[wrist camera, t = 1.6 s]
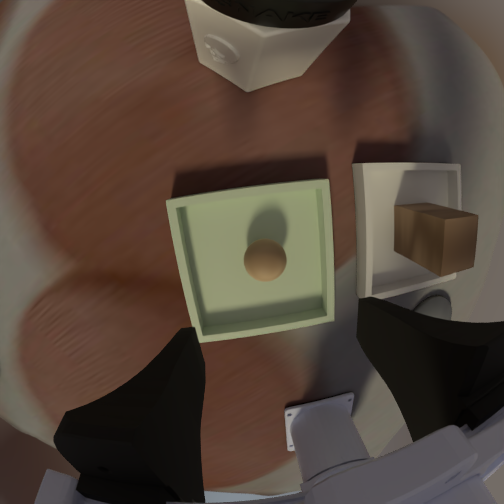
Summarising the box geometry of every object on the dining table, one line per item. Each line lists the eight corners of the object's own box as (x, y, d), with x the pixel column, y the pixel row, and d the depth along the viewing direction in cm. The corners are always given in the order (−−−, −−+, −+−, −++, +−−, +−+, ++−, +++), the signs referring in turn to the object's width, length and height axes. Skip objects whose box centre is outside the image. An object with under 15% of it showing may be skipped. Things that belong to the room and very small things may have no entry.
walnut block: (426, 244, 22) (473, 266, 16) (393, 250, 22) (440, 277, 16) (427, 202, 21) (478, 215, 15) (393, 205, 21) (445, 219, 14)
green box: (327, 310, 23) (334, 320, 21) (198, 331, 23) (197, 342, 21) (320, 178, 20) (328, 179, 18) (170, 198, 19) (165, 200, 18)
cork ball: (283, 269, 21) (292, 284, 18) (245, 275, 21) (248, 291, 18) (280, 231, 20) (289, 241, 18) (239, 237, 20) (242, 248, 17)
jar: (175, 52, 16) (133, -44, 5) (240, -8, 15) (254, -106, 3) (269, 112, 18) (324, 44, 7) (328, 47, 17) (406, -29, 5)
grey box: (445, 272, 24) (455, 278, 22) (356, 294, 23) (364, 303, 21) (448, 163, 20) (460, 164, 19) (351, 163, 20) (362, 163, 18)
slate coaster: (442, 340, 26) (444, 342, 26) (398, 357, 26) (400, 360, 26) (453, 289, 24) (456, 291, 24) (407, 303, 24) (410, 306, 23)
